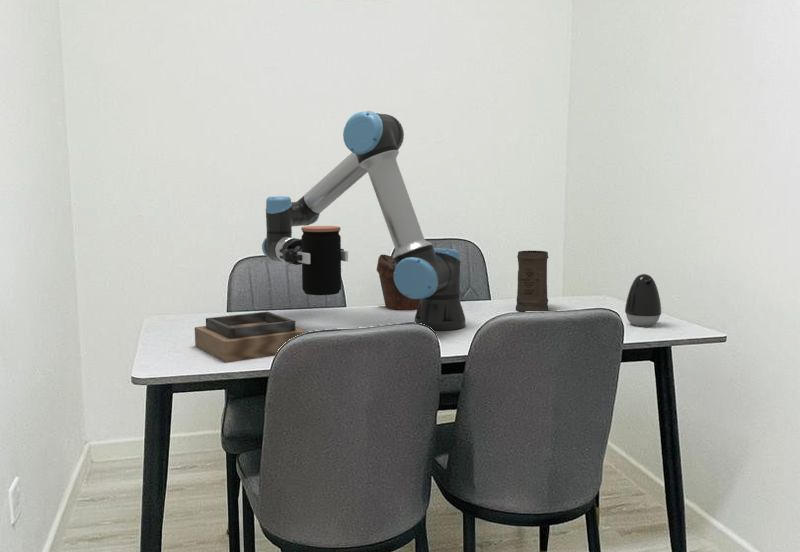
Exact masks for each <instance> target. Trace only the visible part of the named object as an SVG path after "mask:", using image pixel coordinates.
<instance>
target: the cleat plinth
mask: <svg viewBox="0 0 800 552" xmlns="http://www.w3.org/2000/svg"><path fill="white" fill-rule="evenodd" d="M305 332H308V333H309V331H308V330H305V329H302V328H300V327H297V326H296V320H293V319H290V318H287V317H285V316H282V315H279V314H275V313H273V312H270V311H261V312H253V313H251V312H250V313H242V314H240V313H239V314H233V315H225V316H224V315H223V316H214V317H207V318H205V325H203V326H195V327H194V346H195V347H196V348H199V349H200V350H202V351H203V352H206V353H208V354H210V355H211V356H213V357H215V358H217V359H218V360H221V361H223V362H224V363H230V362H231V363H233V362H238V361H245V360H251V359H258V358H264V357H271V356H273V357H274V356H276V355H275V354H276V353H277V351H278V349H279V348H280V347H281V346H282V345H283V344H284V343H285V342H287V341H288V340H289V339H291V338H293V337H295V336H297V335H300V334H302V333H305Z"/></svg>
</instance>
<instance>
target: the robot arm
mask: <svg viewBox="0 0 800 552" xmlns="http://www.w3.org/2000/svg"><path fill="white" fill-rule="evenodd" d="M342 136H343V142H344V145H345V147H346V148H347V149H348V151H350V152H351V153H350V154H349V155H348V156H346V157H345V158H344V159H343V160H342V161H340V162H339V163H338V164H337V165H336V166H335V167H333V169H331V170H330V172H328V173H327V174H326V175H325V176H323V178H321V179H320V180H319V181H318V182H317V183H316V184H315V185H314V186H313V187H311V188H310V189H309V190H308V191H307V192H306V193H305V194H304V195H303V196H302V197H300V198H299V199H298V200H297V201H292V199H291V197H290V196H281V195H279V196H278V195H277V196H268V197H267V198H266V201H265V203H266V204H265V221H266V223H265V224H266V237H265V238H264V240H263V242H262V243H261V250H262V253H263V255H264V256H265V257H266V258H268V259H271V260H273V261H276V262H282V263H287V265H288V266H291V265H295V266H299V265H301V266H302V263H305V264H310V254H309V253H303V252H302V241H301V238H295V237H292V235H293V234H292V233H293V230H292V229H293V228H292V227H306V226H311V225H312V224H315V223H316V222H317V221H318V220H319V218H320V214H321V213H322V212H324V210H326V209H327V208H328V207H329V206H330V205H331V204H333V203H334V202H335V201H336V200H337V199H338V198H339V197H341V196H342V195H343V194H345V192H346V191H347V190H349V189H350V188H351V187H352V186H353V185H354V184H356V183H357V182H358V181H360V180H361V179H362V178H363V177H364V176H365V175H366V174H367V173H368V176H369V179H370V182H371V185H372V188H373V191H374V193H375V196H376V199H377V201H378V203H379V204H378V205H379V207H380V210H381V213H382V216H383V219H384V221H385V224H386V227H387V230H388V233H389V236H390V238H391V240H392V244H393V246H394V249H395V252H394V254H393V255H392V257H393V260H394V263H395V266H396V268H395V271H394V282H395V285H396V287H397V289H398V290H399V291H400V292H401V293H402V294H403V295H404V296H406V297H409V298H412V299H420V303H419V306H418V309H416V312H415V315H414V323H415V322H416V323H422V324H425V325H427V326H429V327H431V328H432V329H433V330H432V331H454V330H459V329H462V328H465V327H466V326H467V325H466V324H467V323H466V320H467V319H466V316H465V313H464V309H463V306H462V304H461V300H460V298H461V297H460V294H461V291H460V289H461V258H460V256H461V255H460V252H459V250H457V249H453V248H440V247H437V248H436V247H434V246H433V243H431V242H429V241H427V240H426V239H425V236H424V234H423V231H422V229H421V226H420V223H419V220H418V218H417V215H416V211H415V209H414V207H413V203H412V201H411V197H410V195H409V193H408V189H407V187H406V186H407V185H406V184H405V182H404V178H403V176H402V172H401V170H400V167H399V164H398V162H397V157H398V155H399V153H400V151H399V150H400V148H401V146H402V145H403V142H404V140H405V137H404V136H405V133H404V128H403V125H402V123H401V122H400V121H399V120H398V119H397V118H396V117H394V116H393V115H390V114H385V113H378V112H375V111H371V110H368V111H365V110H364V111H359V112H356V113H354V114H353V115H351V116H350V117H349V118H348V120H347V121H346V123H345V126H344V128H343V133H342ZM341 262H349V251H347V250H344V248H341Z"/></svg>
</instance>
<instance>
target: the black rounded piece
mask: <svg viewBox="0 0 800 552" xmlns="http://www.w3.org/2000/svg"><path fill="white" fill-rule="evenodd" d="M626 298H627V299H626V303H625V307H624V308H625V309H624V313H625V315H626V318H627V319H626V320H627V321H628V322H629V323H630V324H632V325H633V326H636V327H644V328H645V327H652V326H654V325H656V324H657V322H659V320H660V316H661V315H662V303H661V297H660V293H659V290H658V286H657V284H656V282H655V280H654V278H653V276H651V275H650V274H647V273H642V274H639V275H637V276H636V277H635V278H634V279H633V281H632V283H631V286H630V288H629V290H628V293H627V297H626Z"/></svg>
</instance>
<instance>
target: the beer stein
mask: <svg viewBox="0 0 800 552" xmlns="http://www.w3.org/2000/svg"><path fill="white" fill-rule="evenodd" d="M516 258H517V264H518V265H517V266H518V270H517V290H516V291H517V293H516V300H515V301H516V304H515V305H516V306H515V311H517V312H521V313H525V311H547V312H548V311H549V305H548V303H549V298H548V259H549V252H548V251H545V250H520V251H518V252H517V256H516Z"/></svg>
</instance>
